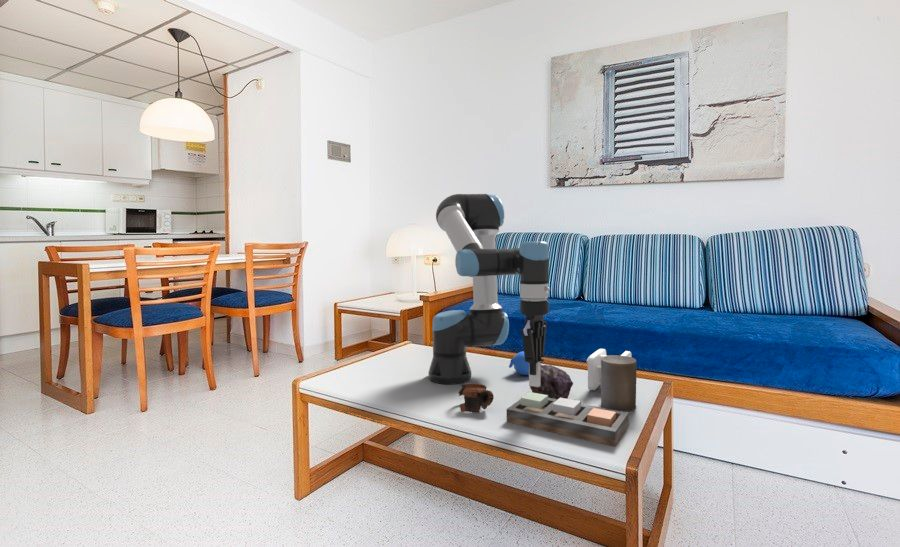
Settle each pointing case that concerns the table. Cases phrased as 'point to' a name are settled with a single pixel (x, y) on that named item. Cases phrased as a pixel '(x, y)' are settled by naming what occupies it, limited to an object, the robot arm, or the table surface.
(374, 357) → the table surface
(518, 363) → the blue rounded piece
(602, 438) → the keypad
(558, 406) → the white key
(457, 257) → the robot arm
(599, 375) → the cable organizer
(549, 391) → the rock
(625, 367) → the pillar candle
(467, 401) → the pottery mug
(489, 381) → the table surface
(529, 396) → the sage key
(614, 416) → the orange square block
